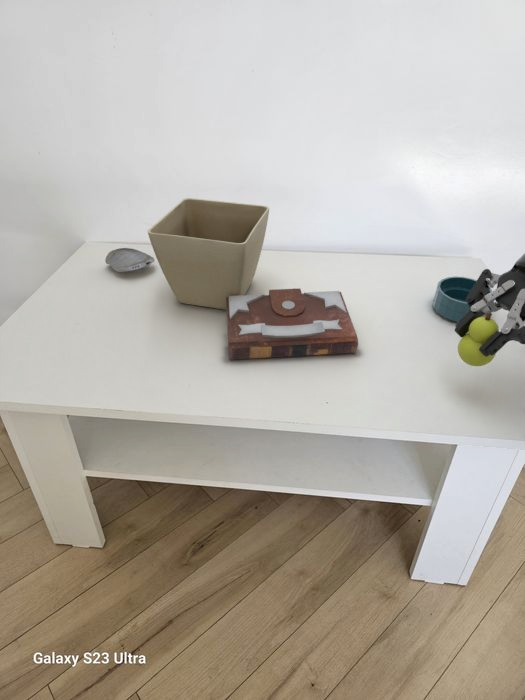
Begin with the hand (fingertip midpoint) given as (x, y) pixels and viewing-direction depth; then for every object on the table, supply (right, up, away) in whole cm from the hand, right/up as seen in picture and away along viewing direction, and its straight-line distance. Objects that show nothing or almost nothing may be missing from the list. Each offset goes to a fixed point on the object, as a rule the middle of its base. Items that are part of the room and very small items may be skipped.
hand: (470, 343), depth 69 cm
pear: (+2, -3, +3) cm, 5 cm away
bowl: (+9, +7, +26) cm, 29 cm away
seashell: (-62, +17, +39) cm, 75 cm away
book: (-26, +2, +20) cm, 33 cm away
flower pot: (-41, +11, +32) cm, 53 cm away
